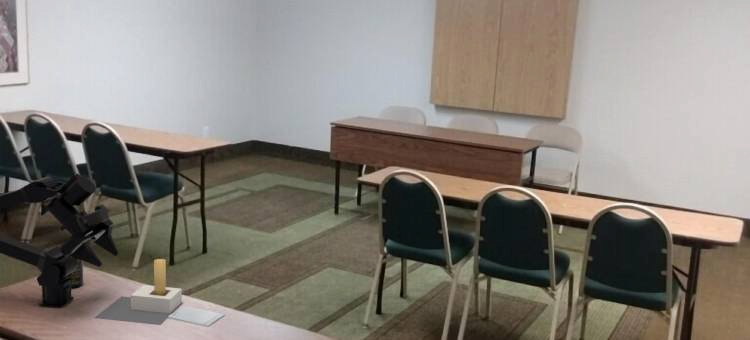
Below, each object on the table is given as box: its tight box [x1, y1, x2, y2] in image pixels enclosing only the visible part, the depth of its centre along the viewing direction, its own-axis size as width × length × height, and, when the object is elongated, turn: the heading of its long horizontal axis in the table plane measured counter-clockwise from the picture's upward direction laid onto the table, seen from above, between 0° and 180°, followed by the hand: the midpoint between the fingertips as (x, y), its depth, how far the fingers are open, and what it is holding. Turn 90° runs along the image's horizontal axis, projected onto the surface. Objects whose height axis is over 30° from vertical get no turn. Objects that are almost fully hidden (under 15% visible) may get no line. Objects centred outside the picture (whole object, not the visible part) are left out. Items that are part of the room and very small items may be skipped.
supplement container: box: [67, 253, 85, 290], centre depth 212 cm, size 7×7×10 cm
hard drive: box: [167, 305, 226, 328], centre depth 195 cm, size 2×8×12 cm
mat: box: [94, 295, 184, 326], centre depth 197 cm, size 18×16×1 cm
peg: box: [153, 258, 167, 296], centre depth 199 cm, size 3×3×13 cm
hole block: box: [130, 284, 183, 313], centre depth 200 cm, size 11×8×4 cm
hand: (109, 260), depth 196 cm, fingers open, 9 cm apart
